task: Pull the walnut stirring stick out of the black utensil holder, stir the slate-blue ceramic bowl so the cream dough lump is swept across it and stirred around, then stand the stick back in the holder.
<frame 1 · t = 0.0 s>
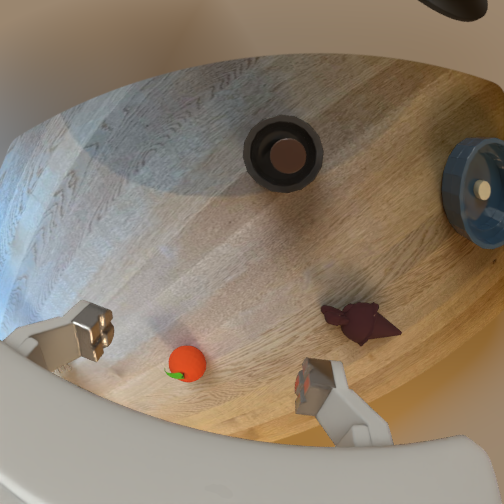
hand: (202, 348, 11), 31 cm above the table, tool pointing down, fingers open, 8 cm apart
bowl: (476, 188, 35), on the table
clementine: (189, 351, 51), on the table
holder: (281, 153, 37), on the table
icecream: (359, 311, 45), on the table
dough: (479, 189, 34), point 1 cm above the table, touching bowl
stick: (282, 153, 36), point 1 cm above the table, touching holder
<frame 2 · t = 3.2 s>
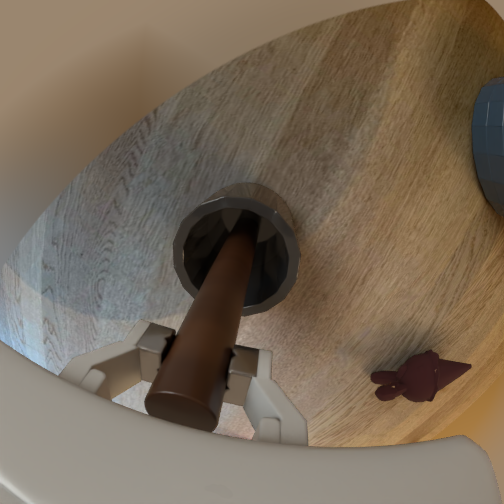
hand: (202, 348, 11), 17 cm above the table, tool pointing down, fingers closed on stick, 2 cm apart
holder: (246, 228, 27), on the table
icecream: (416, 359, 31), on the table
stick: (245, 230, 26), point 1 cm above the table, touching gripper, holder
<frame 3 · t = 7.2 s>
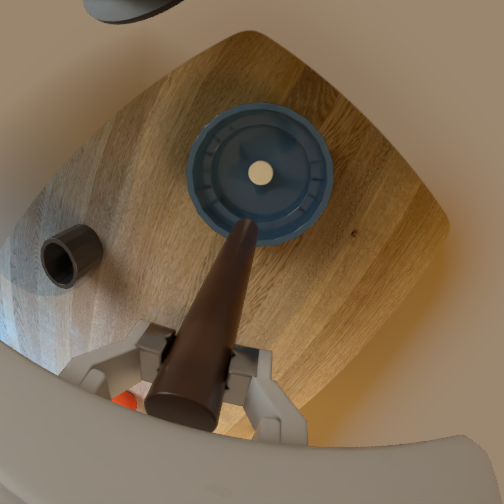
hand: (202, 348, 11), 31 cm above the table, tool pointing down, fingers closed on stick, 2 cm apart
bowl: (261, 171, 38), on the table
clementine: (127, 393, 59), on the table
holder: (84, 247, 45), on the table
dough: (261, 172, 37), point 1 cm above the table, touching bowl
stick: (245, 231, 26), point 14 cm above the table, touching gripper
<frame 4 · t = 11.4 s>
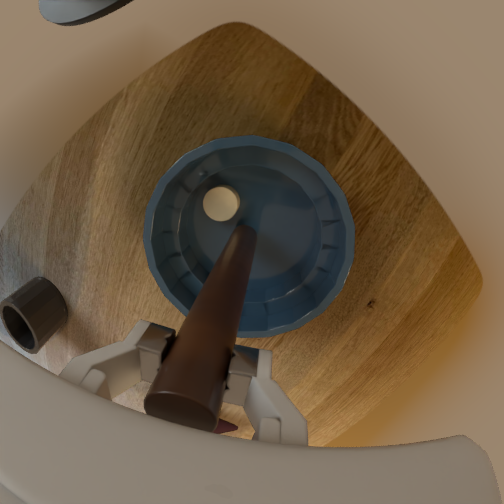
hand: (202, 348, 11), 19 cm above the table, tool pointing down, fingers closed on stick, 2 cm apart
bowl: (251, 228, 28), on the table
holder: (48, 301, 35), on the table
icecream: (194, 405, 39), on the table
dough: (223, 201, 26), point 1 cm above the table, touching bowl
stick: (244, 237, 26), point 2 cm above the table, touching gripper
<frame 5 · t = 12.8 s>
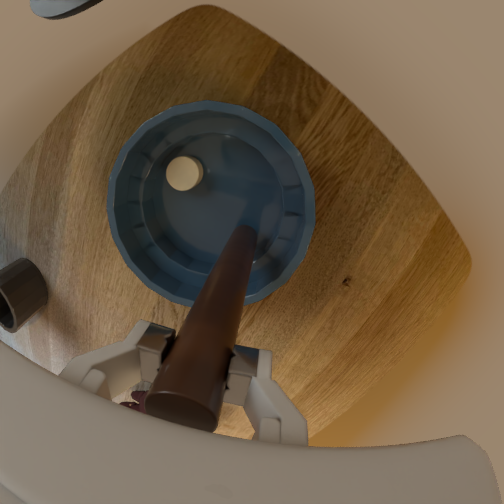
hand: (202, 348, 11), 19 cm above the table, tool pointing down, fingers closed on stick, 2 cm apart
bowl: (216, 199, 27), on the table
holder: (30, 283, 34), on the table
icecream: (170, 391, 39), on the table
dough: (187, 172, 26), point 1 cm above the table, touching bowl
stick: (244, 237, 26), point 2 cm above the table, touching gripper
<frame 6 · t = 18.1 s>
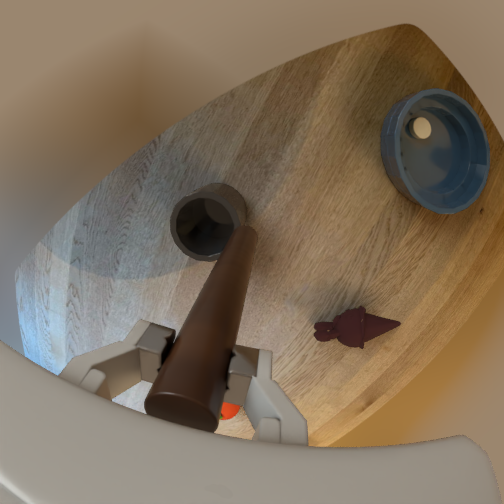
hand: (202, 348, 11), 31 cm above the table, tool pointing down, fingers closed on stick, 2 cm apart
bowl: (428, 149, 34), on the table
clementine: (224, 392, 55), on the table
holder: (217, 212, 41), on the table
icecream: (353, 315, 46), on the table
dough: (417, 128, 33), point 1 cm above the table, touching bowl
stick: (244, 237, 26), point 15 cm above the table, touching gripper
when the fingers open (17 cm above the table, at t = 22.9 s): stick stays where it is, resting on holder.
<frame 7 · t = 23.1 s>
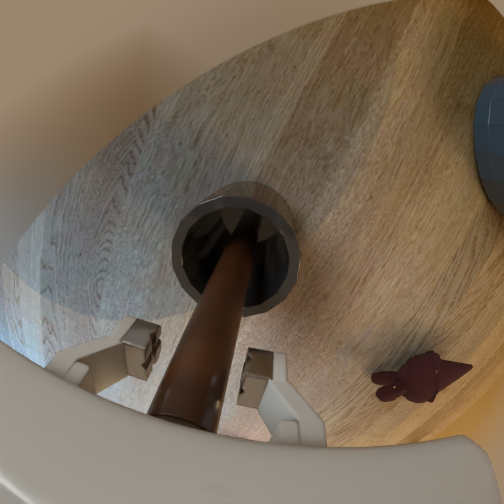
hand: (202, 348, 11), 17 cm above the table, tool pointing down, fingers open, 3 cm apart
holder: (246, 228, 26), on the table
icecream: (417, 360, 31), on the table
stick: (244, 237, 26), point 1 cm above the table, touching holder
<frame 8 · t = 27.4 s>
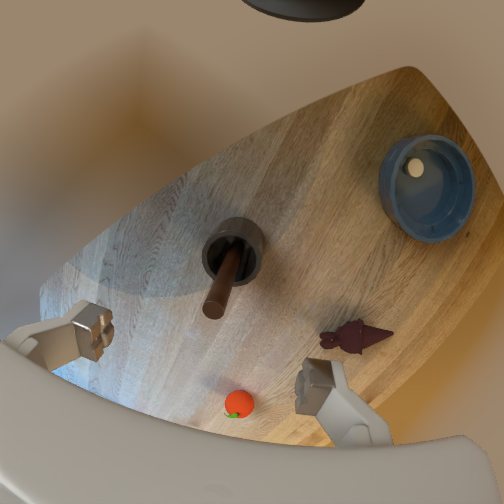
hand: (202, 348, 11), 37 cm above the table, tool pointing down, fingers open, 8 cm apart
bowl: (420, 184, 42), on the table
clementine: (239, 394, 62), on the table
holder: (238, 241, 48), on the table
icecream: (353, 326, 53), on the table
dough: (411, 167, 40), point 1 cm above the table, touching bowl
stick: (237, 247, 48), point 1 cm above the table, touching holder
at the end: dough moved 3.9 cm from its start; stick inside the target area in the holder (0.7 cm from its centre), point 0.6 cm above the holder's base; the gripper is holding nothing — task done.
